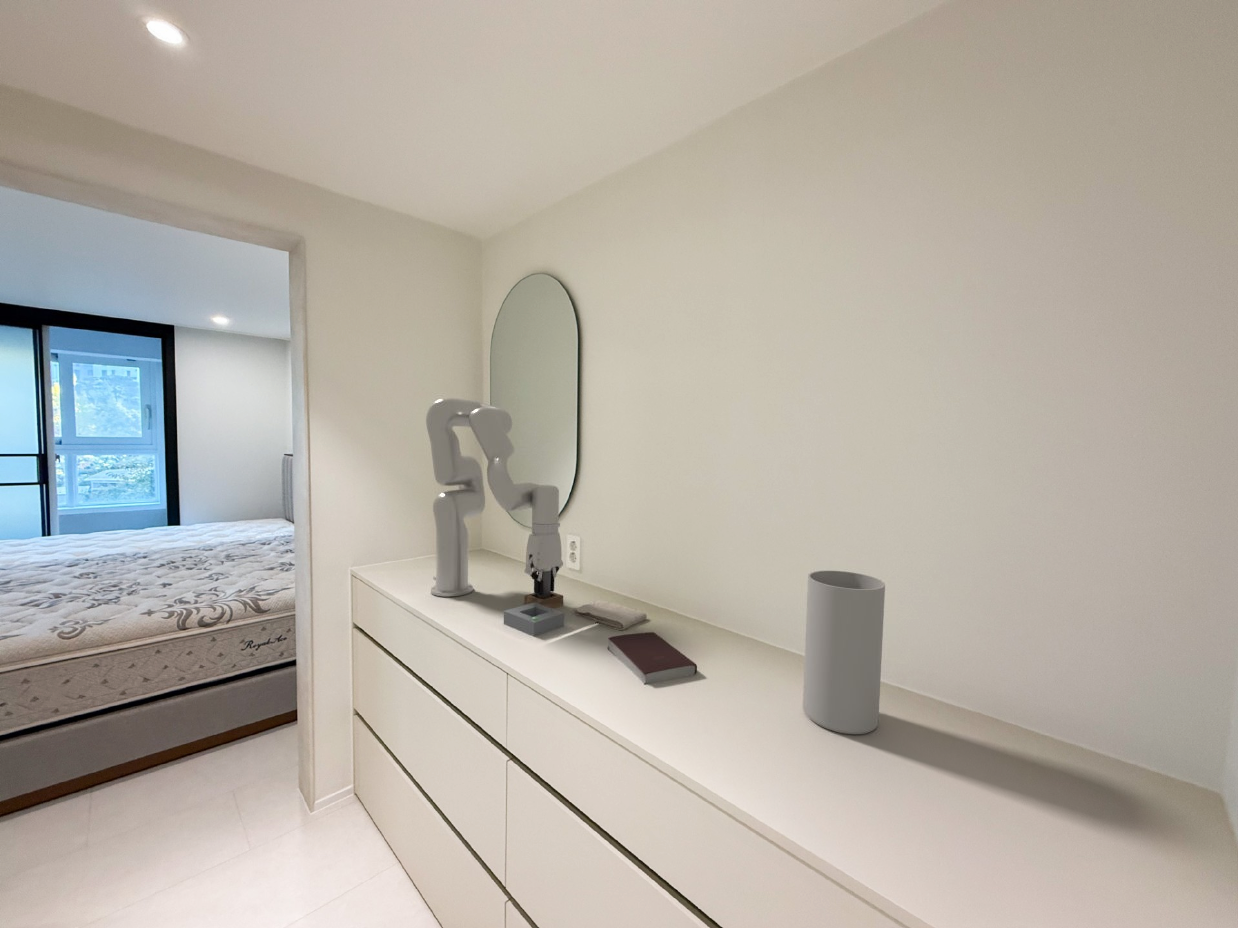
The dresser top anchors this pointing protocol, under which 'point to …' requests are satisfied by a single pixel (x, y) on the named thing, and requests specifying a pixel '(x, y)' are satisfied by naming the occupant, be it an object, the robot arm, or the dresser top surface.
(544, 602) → the holster
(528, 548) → the robot arm
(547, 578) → the grey and white cylinder
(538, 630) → the port
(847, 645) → the cylinder vase
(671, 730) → the dresser top surface
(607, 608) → the washcloth
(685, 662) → the book
